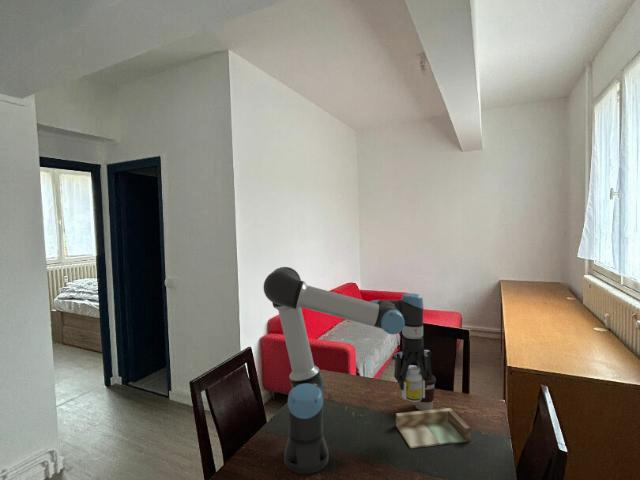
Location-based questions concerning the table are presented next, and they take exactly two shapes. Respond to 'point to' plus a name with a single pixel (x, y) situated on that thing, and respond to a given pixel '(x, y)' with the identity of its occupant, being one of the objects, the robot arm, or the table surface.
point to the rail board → (432, 427)
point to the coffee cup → (427, 396)
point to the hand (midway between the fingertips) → (413, 396)
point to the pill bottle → (413, 384)
